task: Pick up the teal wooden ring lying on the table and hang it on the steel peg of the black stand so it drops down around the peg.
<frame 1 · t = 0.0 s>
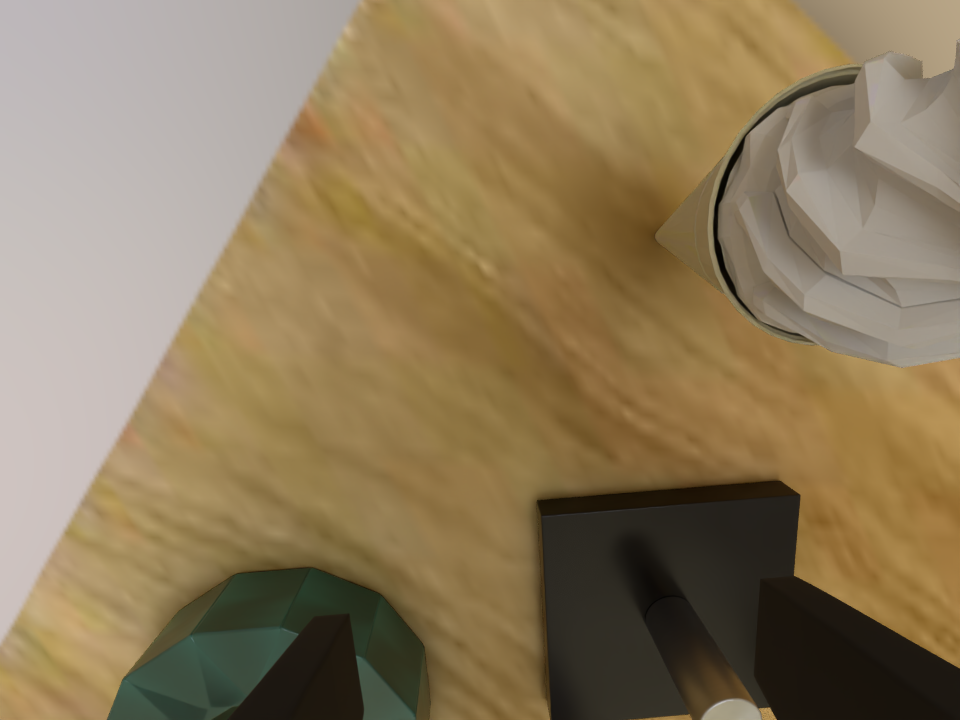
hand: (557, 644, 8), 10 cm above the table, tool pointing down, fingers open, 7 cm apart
peg stand: (657, 595, 20), on the table
ring: (296, 685, 20), on the table
ice cream cone: (659, 236, 17), on the table
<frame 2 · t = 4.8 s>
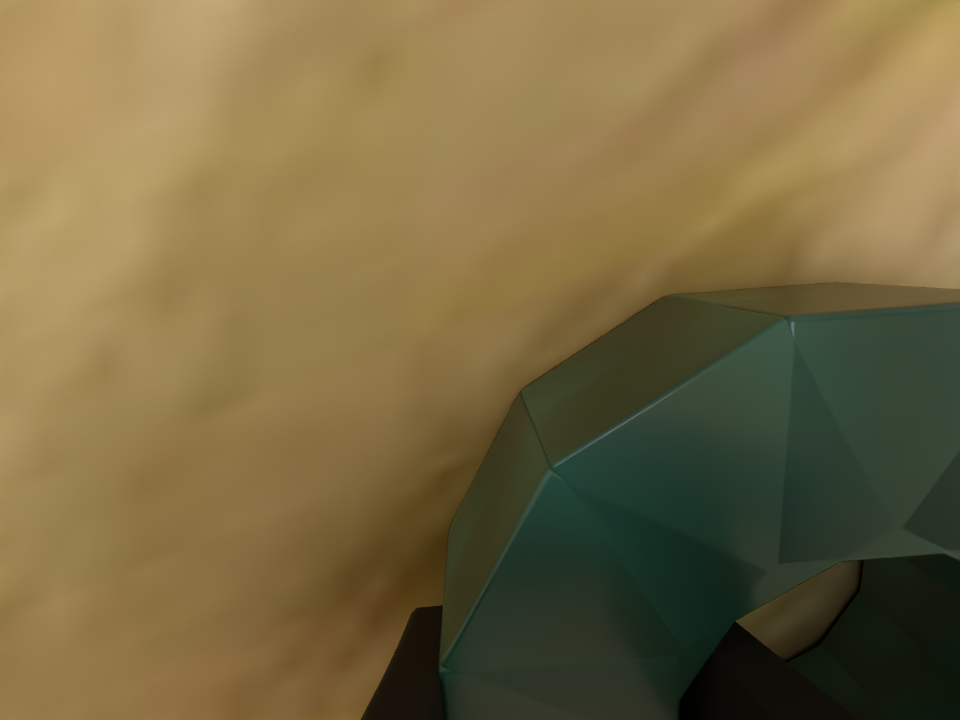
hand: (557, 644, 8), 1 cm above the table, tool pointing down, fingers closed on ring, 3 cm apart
ring: (735, 572, 9), on the table, touching gripper
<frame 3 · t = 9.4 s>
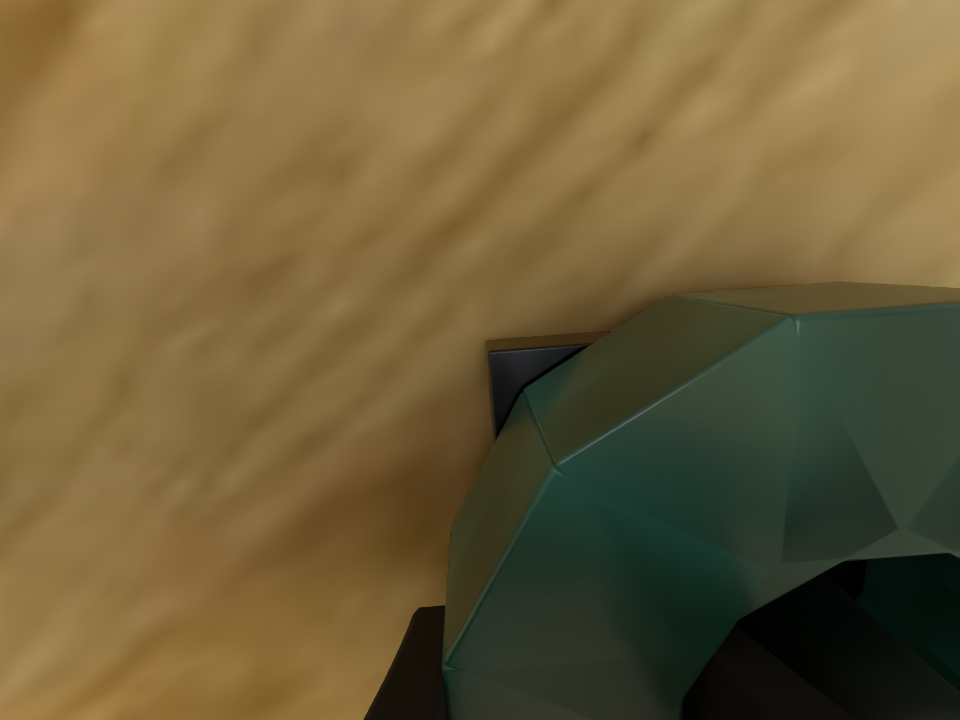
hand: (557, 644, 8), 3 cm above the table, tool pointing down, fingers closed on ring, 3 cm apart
peg stand: (713, 533, 11), on the table
ring: (738, 572, 9), point 1 cm above the table, touching gripper
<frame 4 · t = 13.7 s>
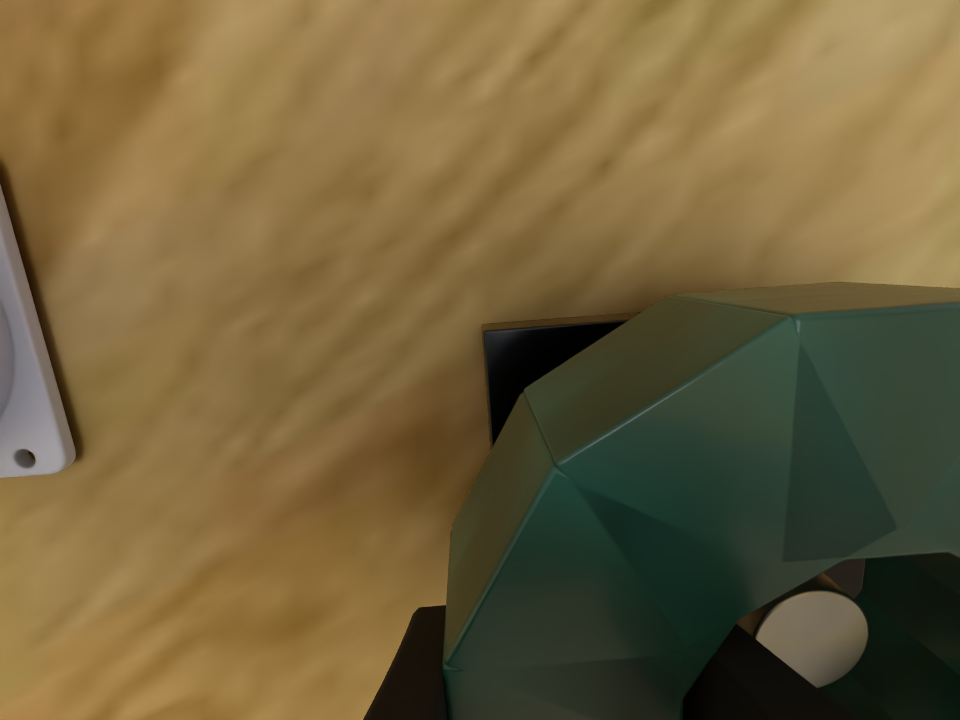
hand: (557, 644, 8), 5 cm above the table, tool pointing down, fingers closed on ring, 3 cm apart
peg stand: (667, 483, 13), on the table
ring: (737, 571, 9), point 4 cm above the table, touching gripper
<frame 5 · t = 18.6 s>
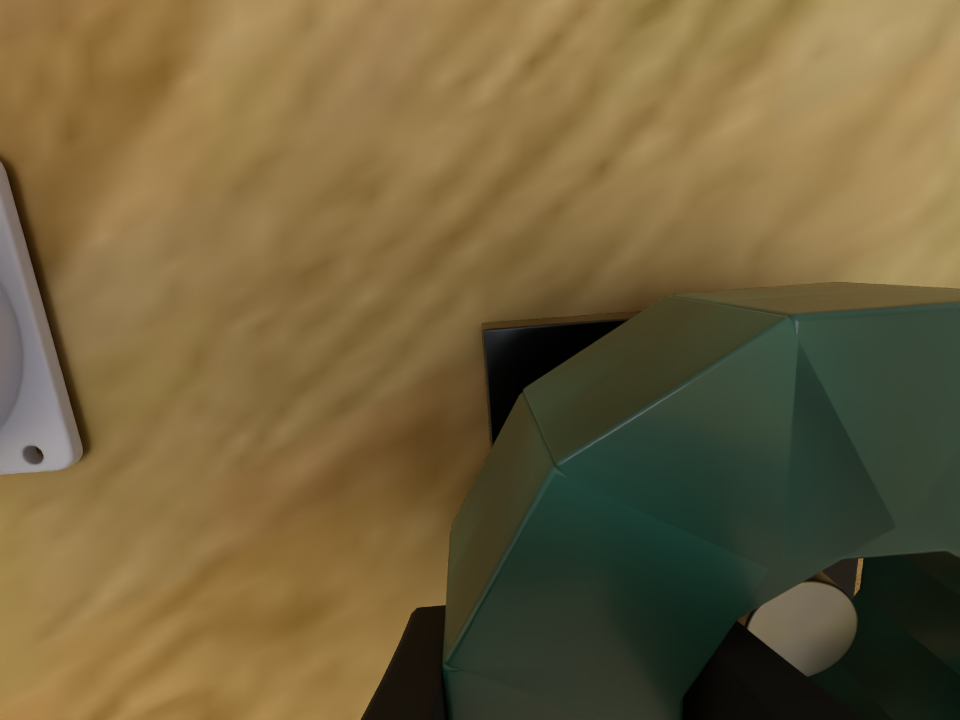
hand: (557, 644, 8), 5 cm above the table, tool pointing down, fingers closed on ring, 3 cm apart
peg stand: (664, 479, 13), on the table
ring: (736, 570, 9), point 4 cm above the table, touching gripper
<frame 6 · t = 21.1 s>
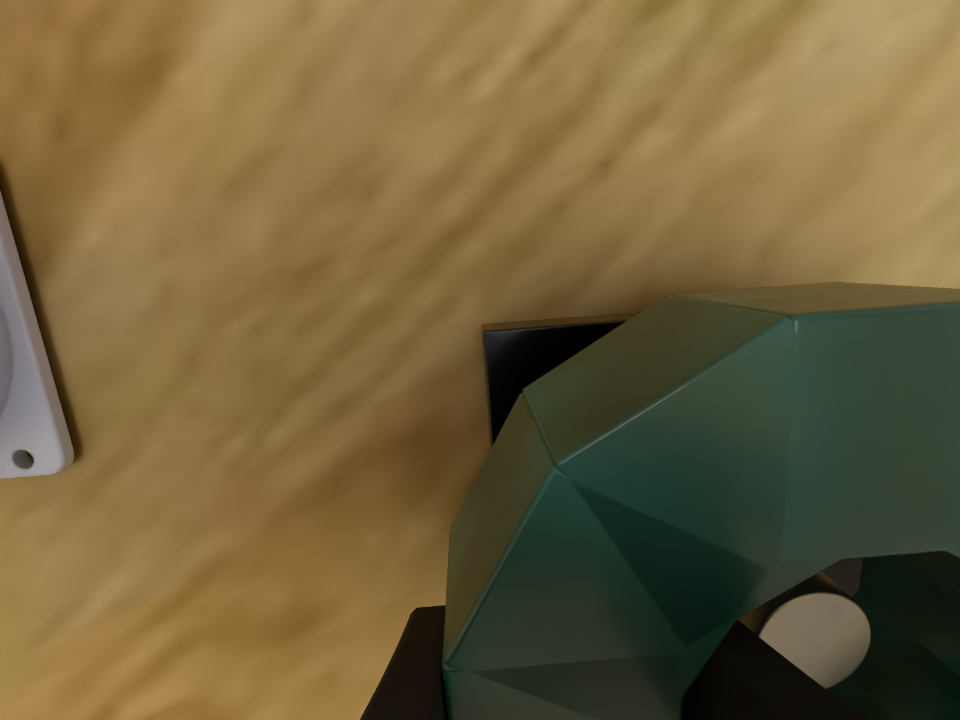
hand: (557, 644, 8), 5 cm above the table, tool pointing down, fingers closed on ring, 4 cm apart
peg stand: (667, 483, 13), on the table
ring: (736, 570, 9), point 4 cm above the table, touching gripper
when the fingers open (6 cm above the table, at t = 23.0 s): ring drops 4 cm, resting on peg stand.
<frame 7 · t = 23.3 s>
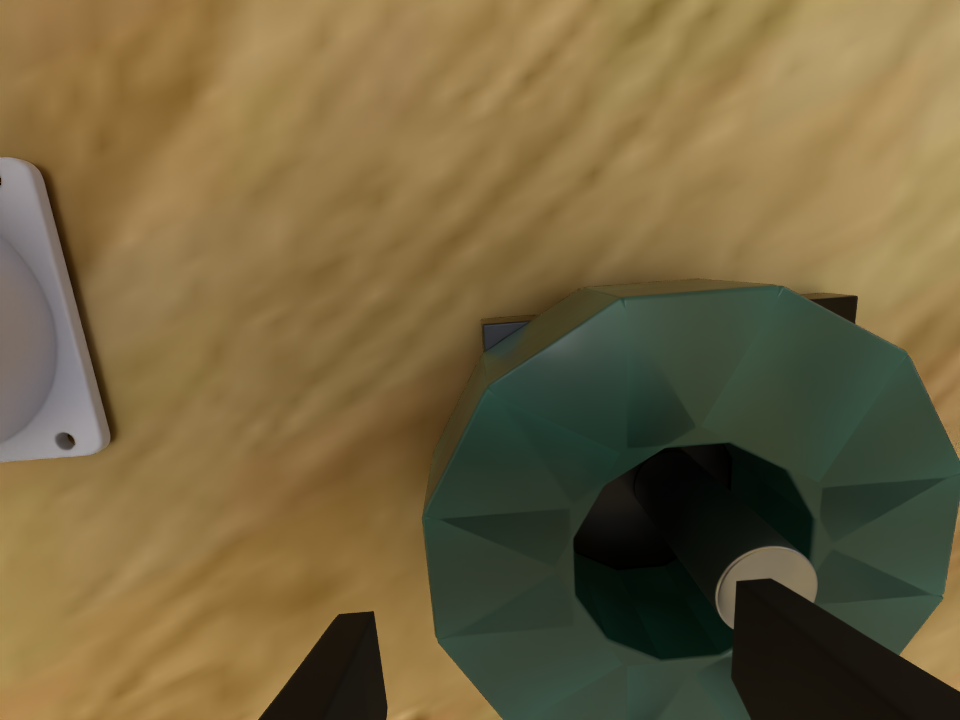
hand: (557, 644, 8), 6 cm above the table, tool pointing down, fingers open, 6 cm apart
peg stand: (651, 465, 14), on the table
ring: (639, 487, 13), point 1 cm above the table, touching peg stand
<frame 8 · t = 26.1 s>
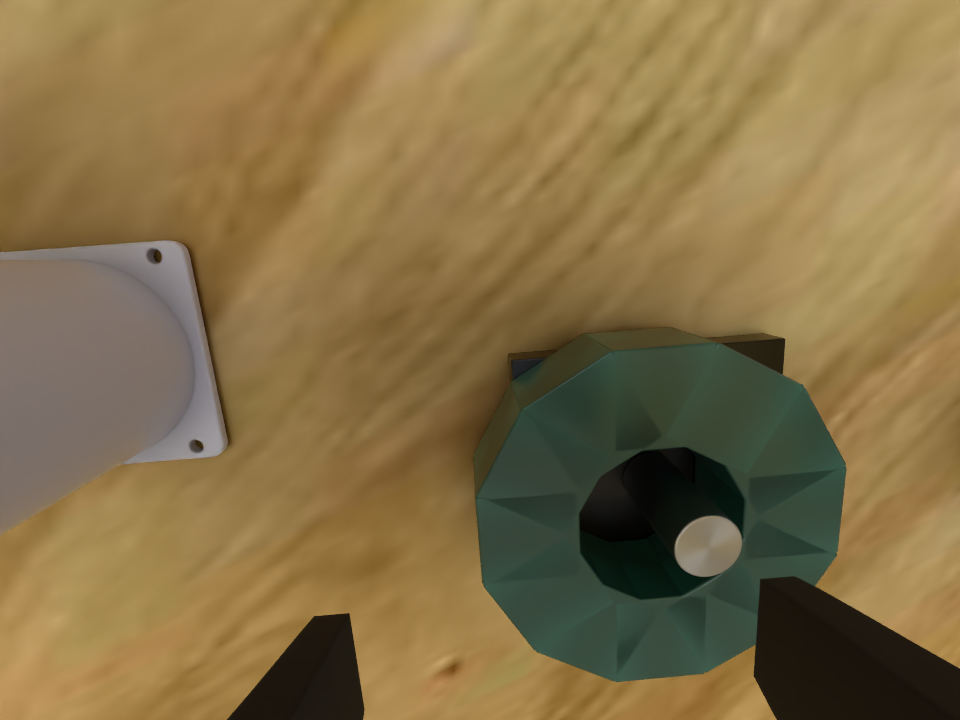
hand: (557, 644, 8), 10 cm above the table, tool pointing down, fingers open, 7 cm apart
peg stand: (636, 463, 19), on the table
ring: (626, 479, 17), point 1 cm above the table, touching peg stand
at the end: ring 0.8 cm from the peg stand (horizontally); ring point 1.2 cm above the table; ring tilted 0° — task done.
